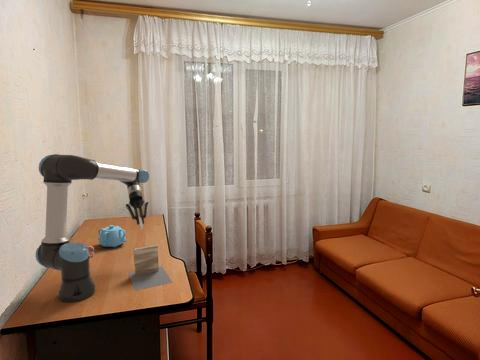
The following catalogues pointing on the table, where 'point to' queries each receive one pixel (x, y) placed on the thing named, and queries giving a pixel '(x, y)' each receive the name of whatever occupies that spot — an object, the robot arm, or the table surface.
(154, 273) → the mat
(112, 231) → the decorative pot
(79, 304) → the table surface
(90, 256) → the decorative key
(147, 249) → the plaque
